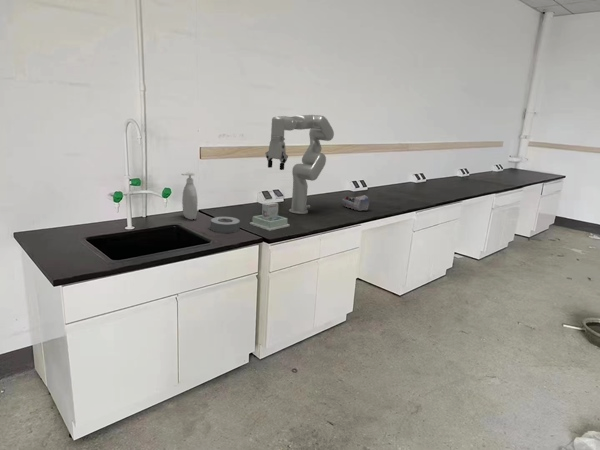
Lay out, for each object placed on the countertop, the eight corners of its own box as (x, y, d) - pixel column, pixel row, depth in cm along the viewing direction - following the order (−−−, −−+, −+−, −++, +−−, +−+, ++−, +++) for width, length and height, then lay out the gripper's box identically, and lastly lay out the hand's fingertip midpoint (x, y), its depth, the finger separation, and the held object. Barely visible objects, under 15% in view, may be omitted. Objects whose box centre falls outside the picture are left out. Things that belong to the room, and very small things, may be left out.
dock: (269, 220, 244) (270, 212, 243) (289, 226, 235) (290, 218, 233) (249, 224, 233) (250, 216, 231) (269, 230, 223) (270, 222, 222)
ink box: (271, 221, 238) (272, 201, 235) (277, 223, 235) (279, 203, 232) (261, 223, 232) (262, 203, 229) (267, 225, 229) (268, 204, 226)
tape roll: (245, 230, 221) (245, 221, 219) (221, 235, 210) (221, 225, 209) (228, 224, 231) (229, 215, 230) (205, 227, 221) (205, 218, 219)
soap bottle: (176, 216, 239) (176, 169, 232) (189, 214, 244) (189, 169, 237) (187, 221, 228) (187, 173, 221) (201, 220, 234) (201, 173, 226)
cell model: (360, 197, 278) (340, 192, 293) (359, 212, 280) (339, 207, 295) (373, 195, 286) (352, 191, 301) (372, 210, 288) (351, 205, 303)
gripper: (292, 140, 234) (290, 170, 239) (271, 137, 245) (269, 166, 250) (283, 140, 229) (282, 171, 233) (262, 137, 239) (261, 166, 244)
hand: (275, 168), depth 241 cm, fingers open, 9 cm apart
